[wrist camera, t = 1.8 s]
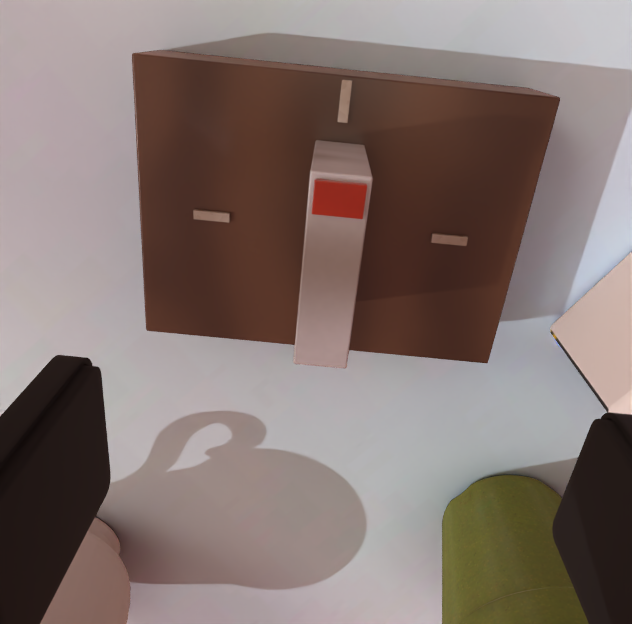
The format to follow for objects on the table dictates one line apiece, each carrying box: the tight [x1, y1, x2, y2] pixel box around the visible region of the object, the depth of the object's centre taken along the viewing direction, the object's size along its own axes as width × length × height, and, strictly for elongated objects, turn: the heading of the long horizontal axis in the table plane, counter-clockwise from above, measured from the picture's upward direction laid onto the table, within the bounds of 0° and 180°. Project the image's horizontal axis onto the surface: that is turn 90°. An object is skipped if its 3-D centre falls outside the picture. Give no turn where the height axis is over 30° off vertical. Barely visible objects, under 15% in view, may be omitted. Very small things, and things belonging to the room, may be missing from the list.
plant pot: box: [442, 475, 589, 624], centre depth 28 cm, size 12×12×11 cm
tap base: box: [132, 50, 560, 363], centre depth 23 cm, size 15×11×4 cm
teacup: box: [40, 517, 130, 624], centre depth 30 cm, size 12×15×10 cm
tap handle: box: [293, 140, 373, 368], centre depth 19 cm, size 6×2×5 cm, turn 175°
